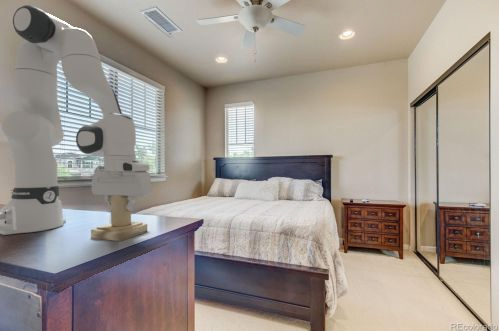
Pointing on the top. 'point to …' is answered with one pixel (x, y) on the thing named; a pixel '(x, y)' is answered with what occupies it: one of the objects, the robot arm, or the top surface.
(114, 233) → the stand
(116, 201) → the candle
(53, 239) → the top surface
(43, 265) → the top surface
